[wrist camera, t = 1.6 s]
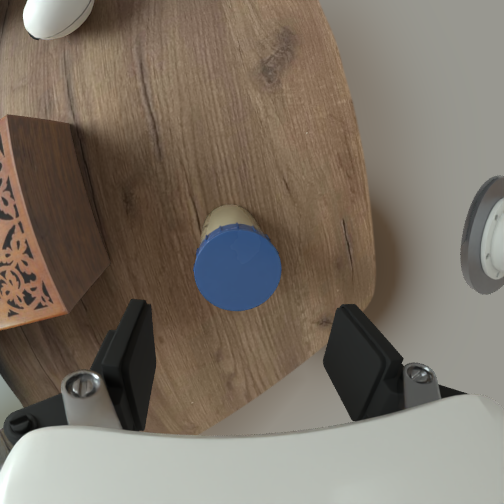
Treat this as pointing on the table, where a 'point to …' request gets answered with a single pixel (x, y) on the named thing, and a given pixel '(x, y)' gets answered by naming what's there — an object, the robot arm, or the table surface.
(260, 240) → the jar lid
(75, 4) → the white egg shaped container
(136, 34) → the table surface
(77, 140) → the table surface
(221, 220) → the jar
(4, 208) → the tissue box cover
